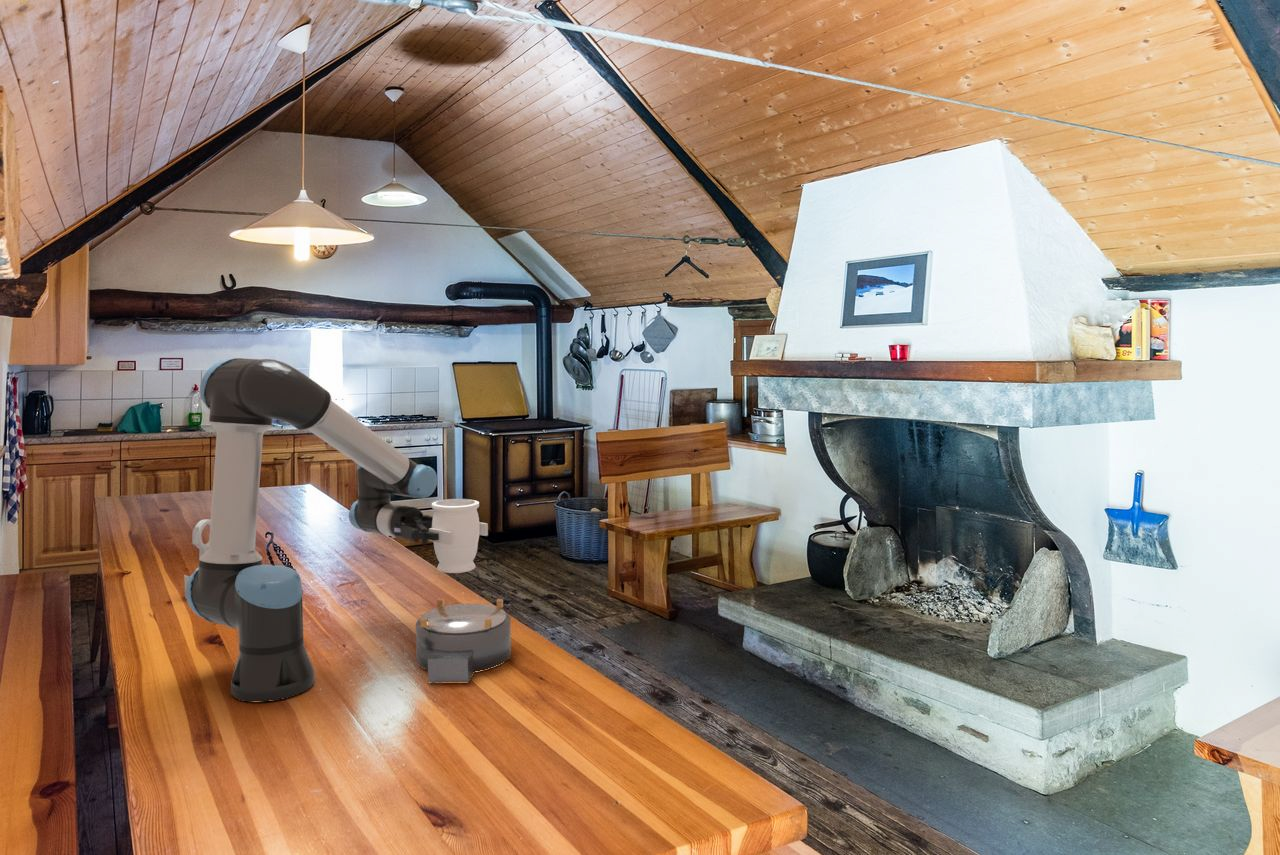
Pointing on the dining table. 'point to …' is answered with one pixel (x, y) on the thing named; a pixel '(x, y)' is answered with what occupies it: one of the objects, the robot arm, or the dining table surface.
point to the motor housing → (462, 640)
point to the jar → (457, 534)
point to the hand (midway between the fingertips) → (469, 533)
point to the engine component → (198, 542)
